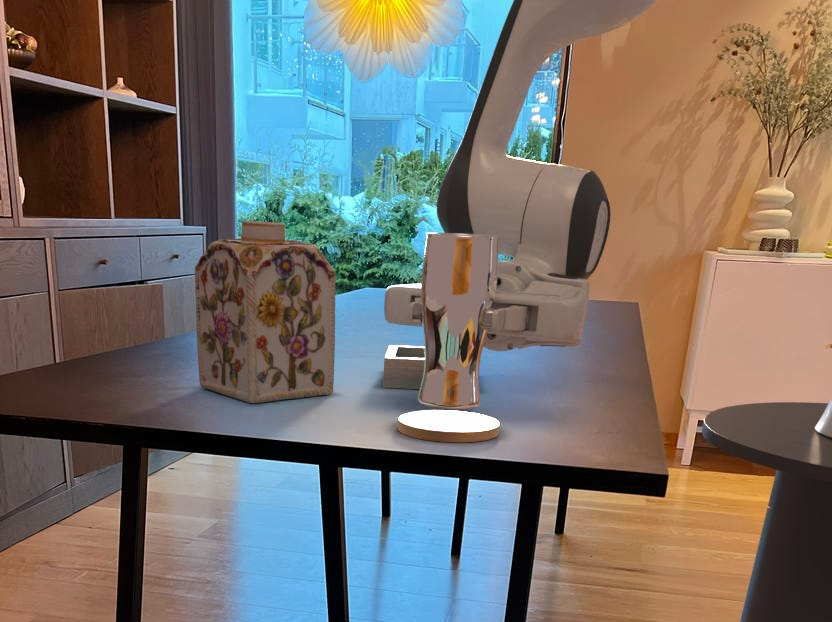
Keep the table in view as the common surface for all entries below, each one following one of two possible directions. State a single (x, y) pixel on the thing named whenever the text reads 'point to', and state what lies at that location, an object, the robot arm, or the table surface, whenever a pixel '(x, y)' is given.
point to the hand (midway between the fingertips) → (451, 317)
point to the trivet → (448, 426)
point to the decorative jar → (265, 316)
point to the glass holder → (404, 367)
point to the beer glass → (455, 315)
